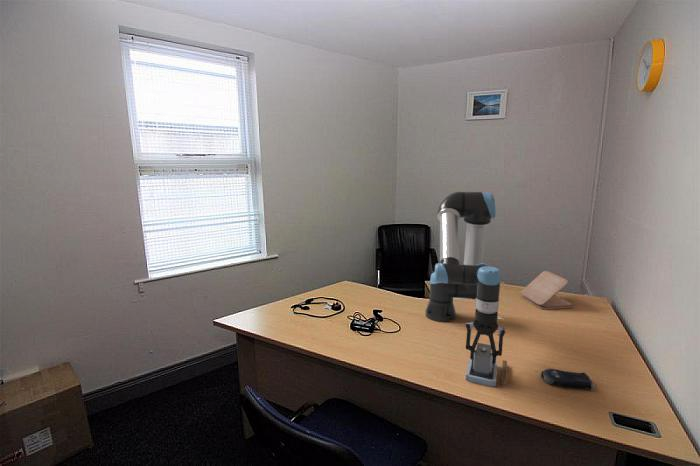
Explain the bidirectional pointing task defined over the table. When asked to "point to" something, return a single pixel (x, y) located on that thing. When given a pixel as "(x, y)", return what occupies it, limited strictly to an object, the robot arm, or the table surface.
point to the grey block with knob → (482, 360)
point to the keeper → (480, 379)
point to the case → (546, 291)
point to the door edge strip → (504, 372)
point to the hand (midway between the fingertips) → (482, 369)
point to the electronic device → (567, 379)
